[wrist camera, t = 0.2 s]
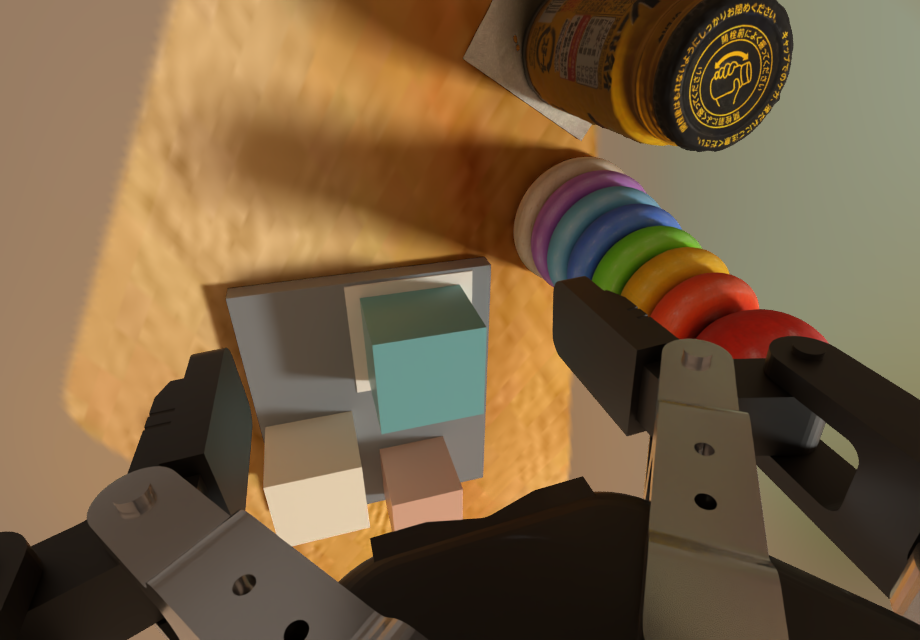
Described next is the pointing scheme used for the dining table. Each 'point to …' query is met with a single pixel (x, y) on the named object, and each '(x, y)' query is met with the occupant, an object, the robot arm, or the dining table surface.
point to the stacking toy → (641, 258)
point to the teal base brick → (424, 357)
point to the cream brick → (314, 478)
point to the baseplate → (345, 356)
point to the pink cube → (420, 483)
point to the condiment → (641, 65)
